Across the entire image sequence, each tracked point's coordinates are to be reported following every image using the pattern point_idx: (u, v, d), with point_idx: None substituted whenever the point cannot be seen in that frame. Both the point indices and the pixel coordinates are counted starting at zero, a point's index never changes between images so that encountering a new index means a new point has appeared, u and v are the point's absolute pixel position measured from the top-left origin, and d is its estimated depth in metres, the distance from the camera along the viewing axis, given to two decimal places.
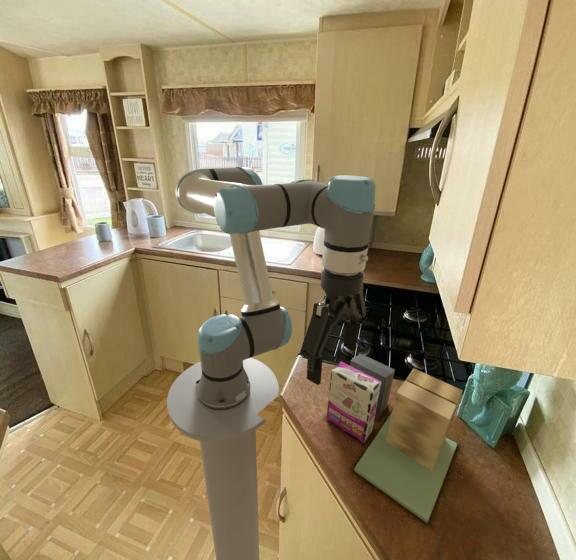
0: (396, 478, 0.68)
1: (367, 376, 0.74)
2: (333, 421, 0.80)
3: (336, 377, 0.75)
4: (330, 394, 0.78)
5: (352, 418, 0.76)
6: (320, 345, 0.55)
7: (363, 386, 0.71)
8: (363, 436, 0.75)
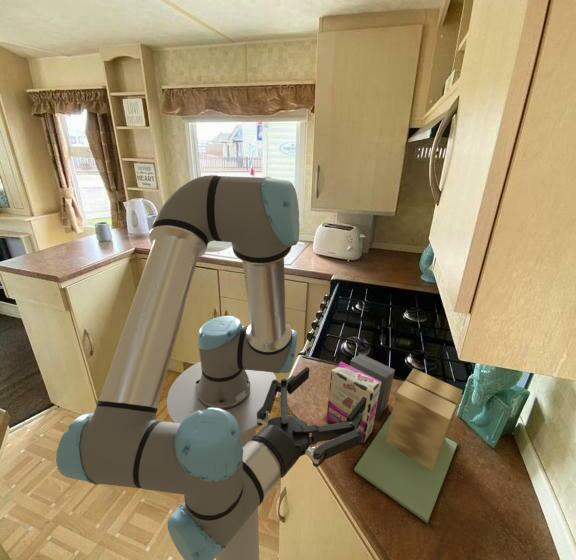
0: (396, 478, 0.68)
1: (367, 376, 0.74)
2: (333, 421, 0.80)
3: (336, 377, 0.75)
4: (330, 394, 0.78)
5: None
6: None
7: (363, 386, 0.71)
8: (363, 436, 0.75)
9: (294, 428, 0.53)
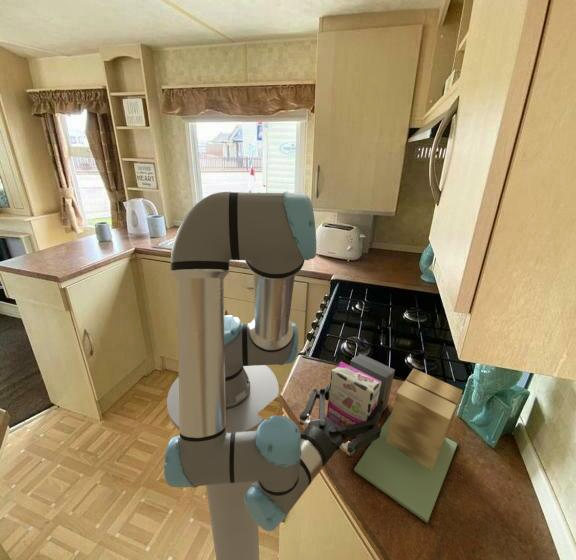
0: (396, 478, 0.68)
1: (367, 376, 0.74)
2: (333, 421, 0.80)
3: (336, 377, 0.75)
4: (330, 394, 0.78)
5: (352, 418, 0.76)
6: (319, 403, 0.78)
7: (363, 386, 0.71)
8: None
9: (330, 429, 0.68)
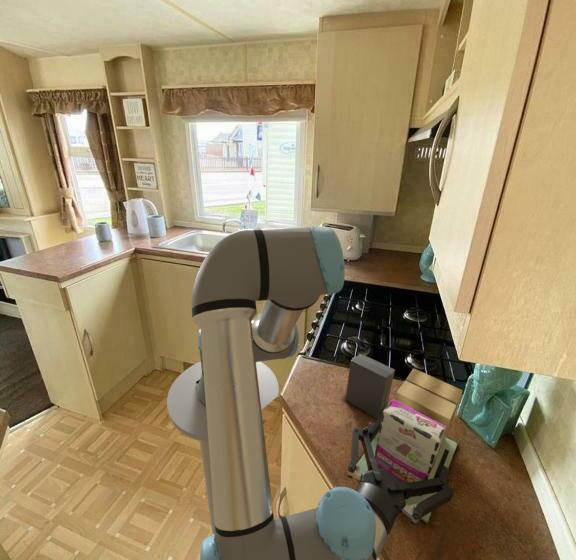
0: None
1: (428, 419, 0.62)
2: (382, 468, 0.69)
3: (390, 420, 0.63)
4: (380, 437, 0.66)
5: (408, 467, 0.64)
6: (363, 447, 0.66)
7: (426, 433, 0.59)
8: None
9: (389, 486, 0.56)
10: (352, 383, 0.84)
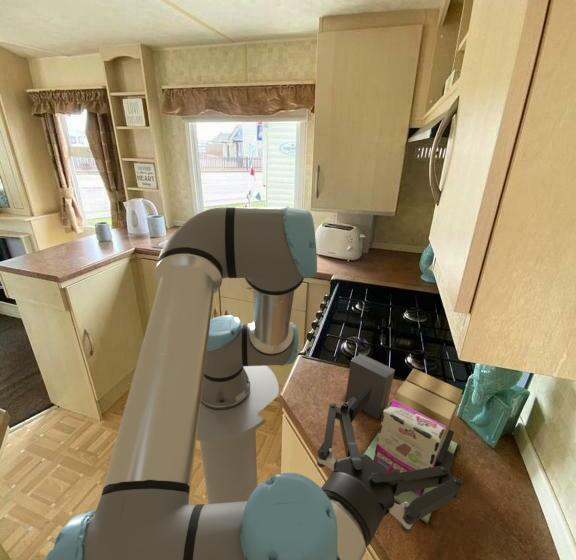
0: None
1: (428, 419, 0.62)
2: None
3: (390, 420, 0.63)
4: (380, 437, 0.66)
5: (408, 467, 0.64)
6: (341, 428, 0.50)
7: (426, 433, 0.59)
8: (421, 489, 0.63)
9: (372, 476, 0.40)
10: (352, 383, 0.84)
